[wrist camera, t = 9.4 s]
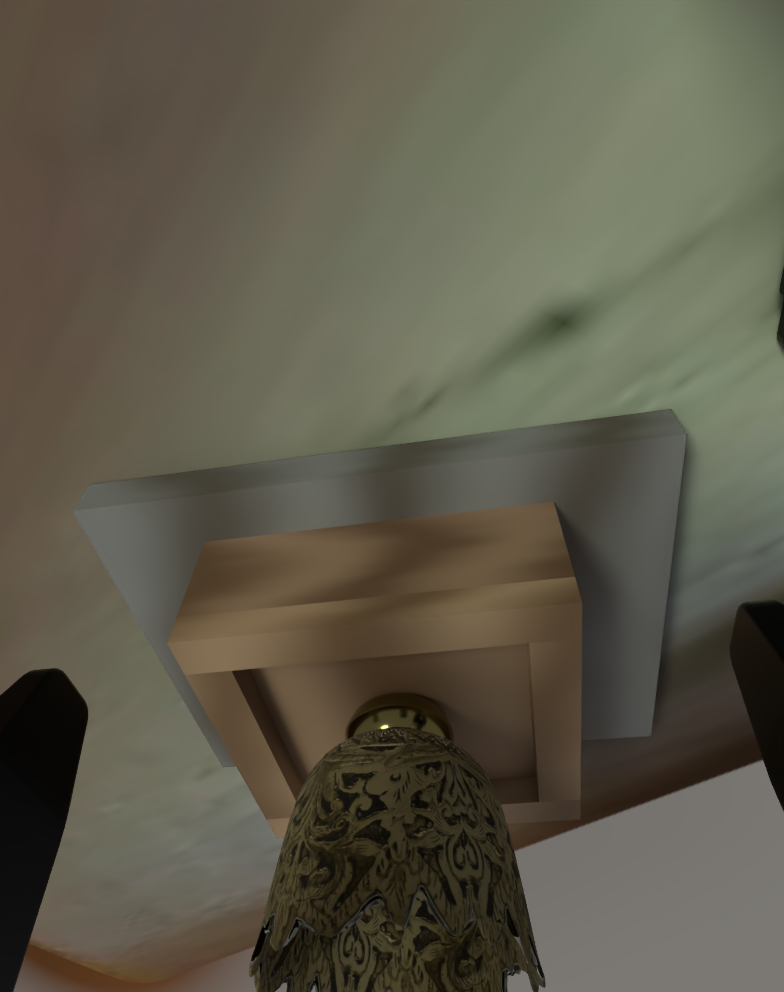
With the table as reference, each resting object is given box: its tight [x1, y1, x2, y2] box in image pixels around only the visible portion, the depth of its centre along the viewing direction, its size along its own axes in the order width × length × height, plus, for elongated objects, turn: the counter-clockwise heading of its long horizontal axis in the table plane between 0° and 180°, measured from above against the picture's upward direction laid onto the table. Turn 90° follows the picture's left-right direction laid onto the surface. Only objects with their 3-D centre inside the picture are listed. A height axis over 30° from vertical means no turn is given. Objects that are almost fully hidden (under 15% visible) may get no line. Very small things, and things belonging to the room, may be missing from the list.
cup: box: [249, 693, 545, 992], centre depth 20 cm, size 8×7×8 cm
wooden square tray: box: [72, 409, 687, 838], centre depth 25 cm, size 20×16×6 cm
